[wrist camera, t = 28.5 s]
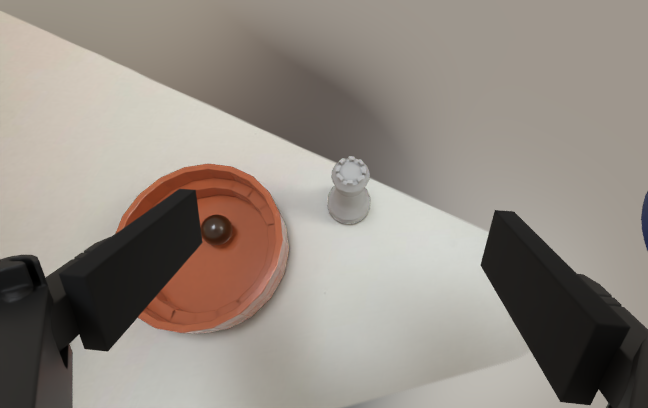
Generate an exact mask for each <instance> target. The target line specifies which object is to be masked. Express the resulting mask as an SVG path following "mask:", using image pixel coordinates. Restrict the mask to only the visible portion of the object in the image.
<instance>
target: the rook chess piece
mask: <svg viewBox="0 0 648 408" xmlns="http://www.w3.org/2000/svg"><path fill="white" fill-rule="evenodd" d="M369 176H370V172H369V170H368V167H367V166H366V165H365V164H364V162H363V161H362V160H361V159H360V160H358V159H355V157H351V156H349V158H348V159H344V158H343V159H341V160H340V161H339V162H338V163H337V164H335V166H334V168H333V170H332V176H331V177H332V180H333V183H334V185H335V186H334V187H333V188H332V189H331V191H330V193H329V195H328V203H327V207H328V210H329V213H330V214H331V215H332V216H333V218H334V219H335V220H337V221H339V222H341V223H347V224H353V223H356V222H359V221H361V220H362V219H363V218H364V217H366V215H367V213H368V211H369V209H370V196H369V194H368V191H367V189H366V188H365V186H366V185H367V183H368V181H369Z"/></svg>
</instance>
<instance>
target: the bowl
mask: <svg viewBox="0 0 648 408" xmlns="http://www.w3.org/2000/svg"><path fill="white" fill-rule="evenodd" d="M178 189H191V190H196V196H197V204H198V211H199V219H200V227H201V224H202V222H203V221H204V220H205V219H206V218H207V217H208V216H211V215H215V214H219V215H223V216H225V217H226V218H228V219H229V221H230V222H231V224H232V235H231V237H230V239H229V240H228V241H227V242H225V243H224V244H221V245H211V244H208V243H207V242H205V241H204V240H203V238H202V242H203V243H202V244H201V245H200V246H199V247H198V248H197V250H196V251H195V252H194V253H193V254H192V255H191V257H190V258H189V259H188V260H187V261H186V262H185V263H184V265H183V266H182V267H181V268H180V269H179V270H178V271H177V273H176V274H175V275H174V276H173V277H172V278H171V280H170V281H169V282H168V283H167V284H166V285H165V286H164V288H163V289H162V290H161V291H160V292H159V293H158V294H157V296H156V297H155V298H154V299H153V300H152V301H151V303H150V304H149V305H148V306H147V307H146V308H145V309H144V311H143V312H142V313H141V314H140V315H139V316H138V318H139V319H141V320H143V321H144V322H146V323H148V324H149V325H151V326H152V327H154V328H157V329H162V330H168V331H174V332H179V333H208V332H214V331H220V330H226V329H229V328H231V327H233V326H235V325H237V324H239V323H241V322H243V321H244V320H246V319H248V318H250V317H252V316H253V315H254V314H255V313H256V312H257V311H258V310H259V309H260V308H261V307H262V306H263V305H264V304H265V303H266V302H267V301H268V300H269V299H270V298H271V297H272V295H273V294H274V292H275V290H276V288H277V286H278V284H279V283H280V281H281V279H282V277H283V275H284V273H285V268H286V263H287V258H288V253H289V245H288V236H287V228H286V225H285V223H284V221H283V219H282V217H281V215H280V213H279V211H278V209H277V207H276V204H275V202H274V200H273V198H272V196H271V194H270V193H269V191H268V190H267V189H266V188H264V187H263V186H262V185H261V184H260V183H259V182H258V181H257V180H256V179H255V178H254V177H253V176H251V175H249V174H247V173H245V172H242V171H240V170H238V169H236V168H234V167H231V166H223V165H215V164H203V165H197V166H190V167H184V168H182V169H179V170H177V171H175V172H172V173H170V174H168V175H166V176H163V177H161V178H159V179H158V180H157V181H156V182H154V183H153V184H152V185H151V186H149V187H148V188H147V189H145V190H144V191H143V192H142V193H140V194H139V195H138V197H137V198H136V199H135V200H134V202H133V203H132V204H131V206H130V207H129V208H128V210H127V211H126V212H125V214H124V215H123V216H122V219H121V221H120V224H119V226H118V229H117V231H116V233H117V232H119V231H120V230H122V229H123V228H125V227H126V226H127V225H129V224H130V223H132V222H133V221H134V220H136V219H137V218H139V217H140V216H142V215H143V214H144V213H146V212H147V211H149V210H150V209H151V208H153V207H154V206H156V205H157V204H159V203H160V202H161V201H163V200H164V199H166V198H167V197H168V196H170V195H171V194H173V193H174V192H176V191H177V190H178Z"/></svg>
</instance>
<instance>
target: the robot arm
mask: <svg viewBox="0 0 648 408" xmlns="http://www.w3.org/2000/svg"><path fill="white" fill-rule="evenodd" d="M202 243H203V242H202V234H201V227H200V219H199V211H198V204H197V196H196V190H191V189H178V190H177V191H176V192H174V193H173V194H171V195H170V196H168V197H167V198H166V199H164V200H163V201H161V202H160V203H159V204H157V205H156V206H154V207H153V208H151V209H150V210H149V211H147V212H146V213H144V214H143V215H142V216H140V217H139V218H137V219H136V220H134V221H133V222H132V223H130V224H129V225H127V226H126V227H125V228H123V229H122V230H120V231H119V232H117V233H116V234H115V235H113V236H112V237H109V238H107V239H104V240H102V241H100V242H97V243H95V244H94V245H92V246H91V247H89V248H88V249H86V250H85V251H84V253H81V254H79V255H78V256H76V257H75V259H72V260H70V261H69V262H68V263H66V264H65V265H63V266H62V267H60V268H59V269H57V270H56V271H54V272H53V273H52V274H50V275H49V276H47V277H46V278H45V276H44V273H43V270H42V268H41V265H40V262H39V260H38V257H36V256H33V255H18V256H11V257H7V258H4V259H0V408H72V354H73V353H72V350H71V347H70V344H69V343H71V342H72V341H73V340H74V339H75V338H76V337H77V336H78V335H79V334H80V337H81V340H82V343H83V346H84V349H90V350H99V351H109V350H110V349H111V347H112V346H113V345H114V344H115V343H116V342H117V340H118V339H119V338H120V337H121V336H122V335H123V334H124V332H125V331H126V330H127V329H128V328H129V327H130V326H131V324H132V323H133V322H134V321H135V320H136V319H137V317H138V316H139V315H140V314H141V313H142V312H143V311H144V309H145V308H146V307H147V306H148V305H149V304H150V303H151V301H152V300H153V299H154V298H155V297H156V296H157V294H158V293H159V292H160V291H161V290H162V289H163V288H164V286H165V285H166V284H167V283H168V282H169V281H170V280H171V278H172V277H173V276H174V275H175V274H176V273H177V271H178V270H179V269H180V268H181V267H182V266H183V265H184V263H185V262H186V261H187V260H188V259H189V258H190V257H191V255H192V254H193V253H194V252H195V251H196V250H197V248H198V247H199V246H200V245H201V244H202ZM481 267H482V269H483V270H484V272H485V274H486V275H487V277H488V279H489V280H490V282H491V284H492V286H493V287H494V289H495V291H496V292H497V294H498V296H499V298H500V299H501V301H502V303H503V304H504V306H505V308H506V310H507V311H508V313H509V315H510V316H511V318H512V320H513V322H514V323H515V325H516V327H517V328H518V330H519V332H520V333H521V335H522V337H523V339H524V340H525V342H526V344H527V345H528V347H529V349H530V351H531V352H532V354H533V356H534V357H535V359H536V361H537V362H538V364H539V366H540V368H541V369H542V371H543V373H544V375H545V376H546V378H547V380H548V381H549V383H550V385H551V386H552V388H553V390H554V391H555V393H556V395H557V397H558V398H559V400H560V402H566V403H576V404H584V405H591V403H592V401H593V399H594V397H595V395H596V393H597V391H598V389H599V390H600V391H601V393H602V394H603V396H604V397H605V398H606V400H607V401H608V405H607V407H606V408H648V329H647V328H645V326H644V325H642V324H641V323H640V322H639V321H638V320H637V319H636V318H635V317H634V316H633V315H632V314H631V313H630V312H629V311H628V310H626V309H625V308H624V307H621V304H620V303H619V302H618V301H617V300H616V299H615V298H612V297H611V295H610V294H609V293H608V292H607V291H606V290H605V289H604V288H603V287H602V286H601V285H600V284H598V283H596V282H595V281H593V280H591V279H590V278H588V277H587V276H585V275H582V274H576V273H575V272H574V271H573V270H572V269H571V268H570V267H569V266H568V265H567V264H566V263H565V262H564V261H563V260H562V259H561V258H560V257H559V256H558V255H557V254H556V253H555V252H554V251H553V250H552V249H551V248H550V247H549V246H548V245H547V244H546V243H545V242H544V241H543V240H542V239H541V238H540V237H539V236H538V235H537V234H536V233H535V232H534V231H533V230H532V229H531V228H530V227H529V226H528V225H527V224H526V223H525V222H524V221H523V220H522V219H521V218H520V217H519V216H518V215H517V214H516V213H515V212H512V211H498V210H495V212H494V216H493V220H492V224H491V227H490V231H489V235H488V239H487V243H486V247H485V250H484V254H483V258H482V262H481Z"/></svg>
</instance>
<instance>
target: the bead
mask: <svg viewBox="0 0 648 408" xmlns="http://www.w3.org/2000/svg"><path fill="white" fill-rule="evenodd" d="M201 234H202V238H203V240H204V241H205V242H207V243H208V244H211V245H221V244H224V243H225V242H227V241H228V240H229V239H230V237H231V235H232V224H231V222H230V221H229V219H228V218H226V217H225V216H223V215H219V214H215V215H211V216H208V217H207V218H206V219H205V220H204V221H203V222H202V224H201Z"/></svg>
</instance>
